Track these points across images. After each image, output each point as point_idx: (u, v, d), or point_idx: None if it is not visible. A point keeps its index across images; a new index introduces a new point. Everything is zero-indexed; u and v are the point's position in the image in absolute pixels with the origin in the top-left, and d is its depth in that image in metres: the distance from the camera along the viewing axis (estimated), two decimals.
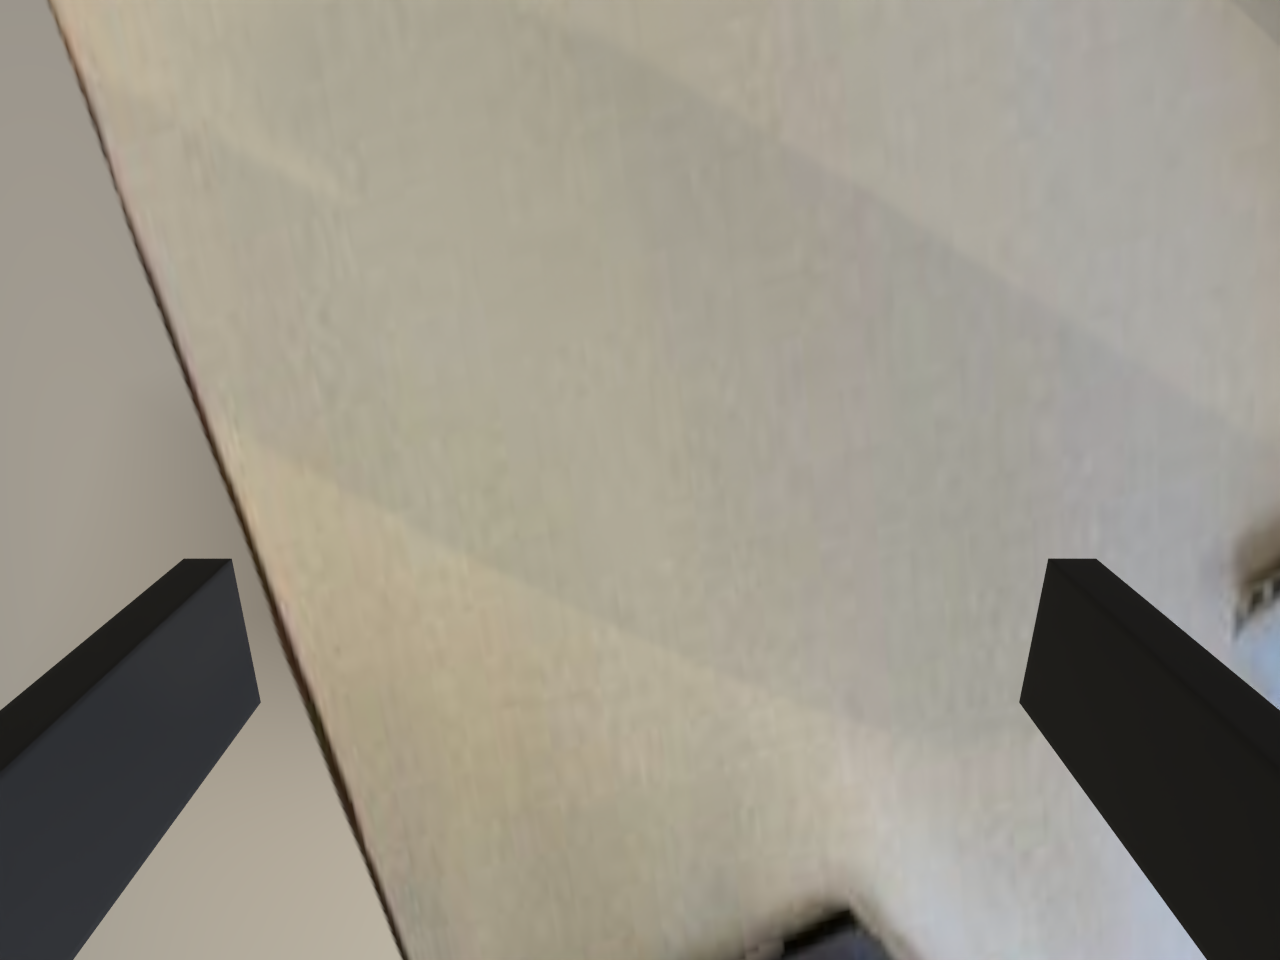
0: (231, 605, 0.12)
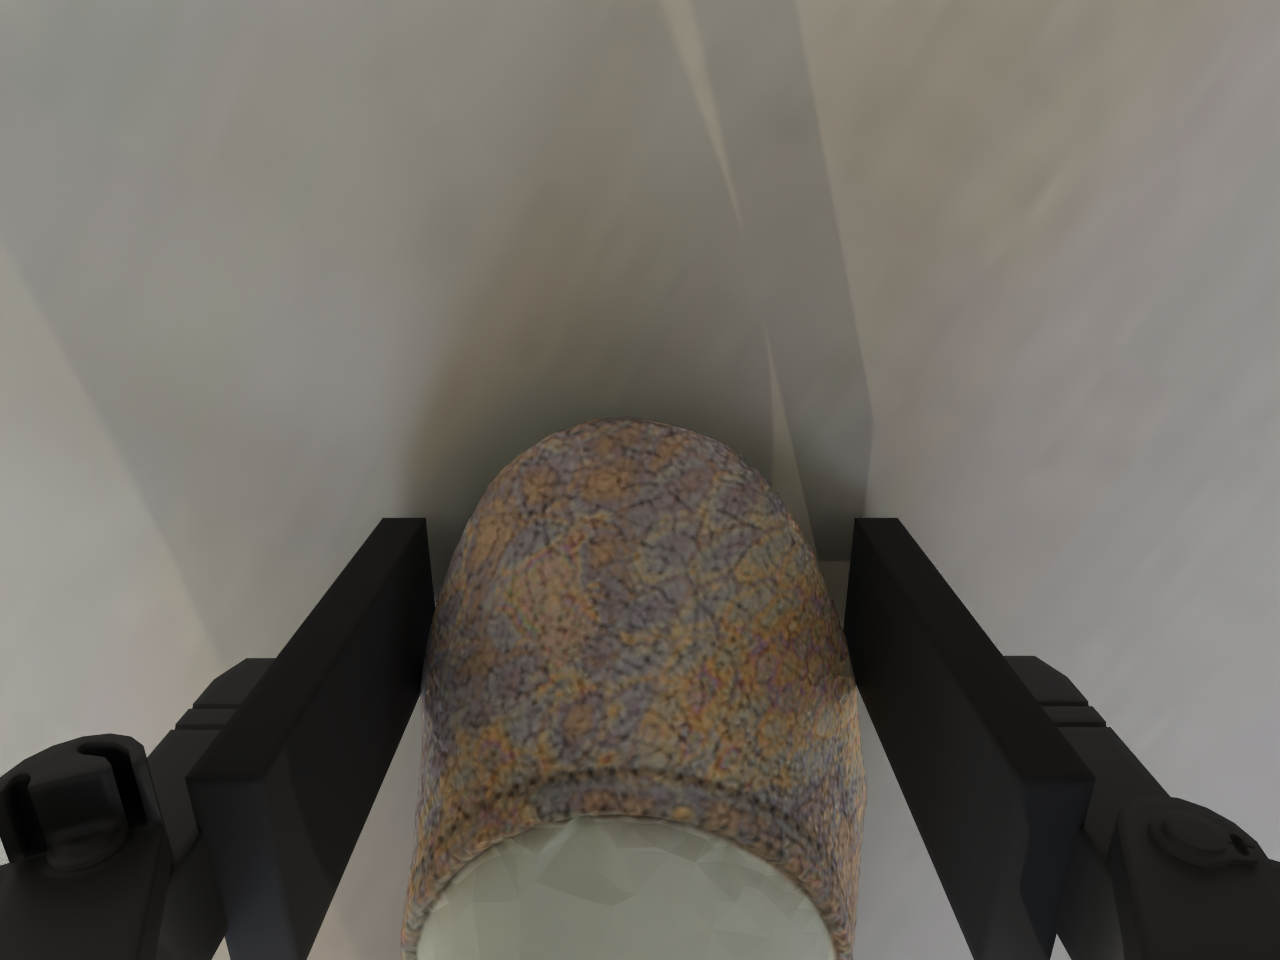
0: (425, 559, 0.14)
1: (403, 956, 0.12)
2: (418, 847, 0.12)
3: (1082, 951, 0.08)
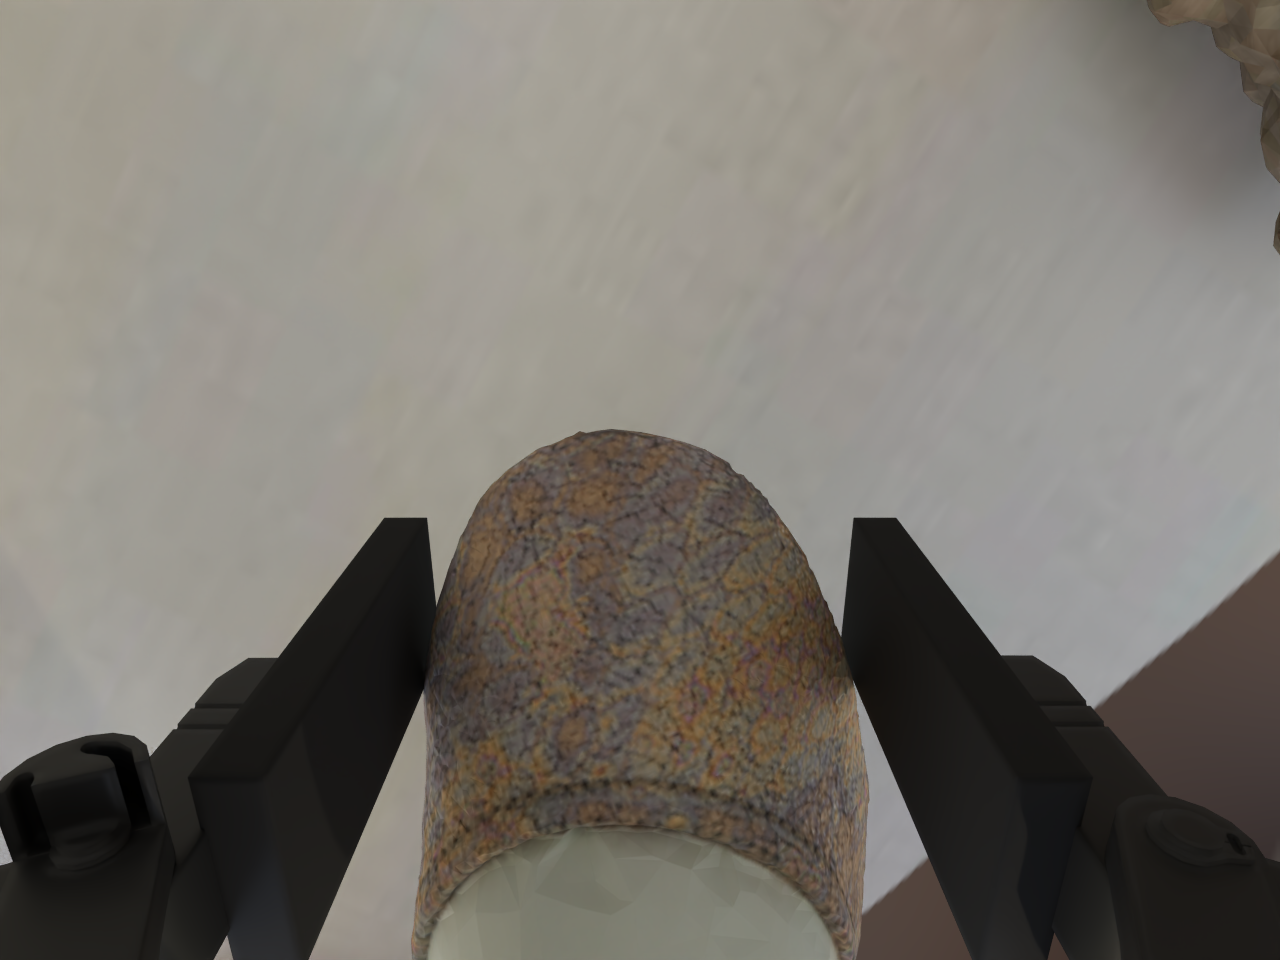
0: (426, 559, 0.14)
1: None
2: (424, 858, 0.12)
3: (1080, 950, 0.08)
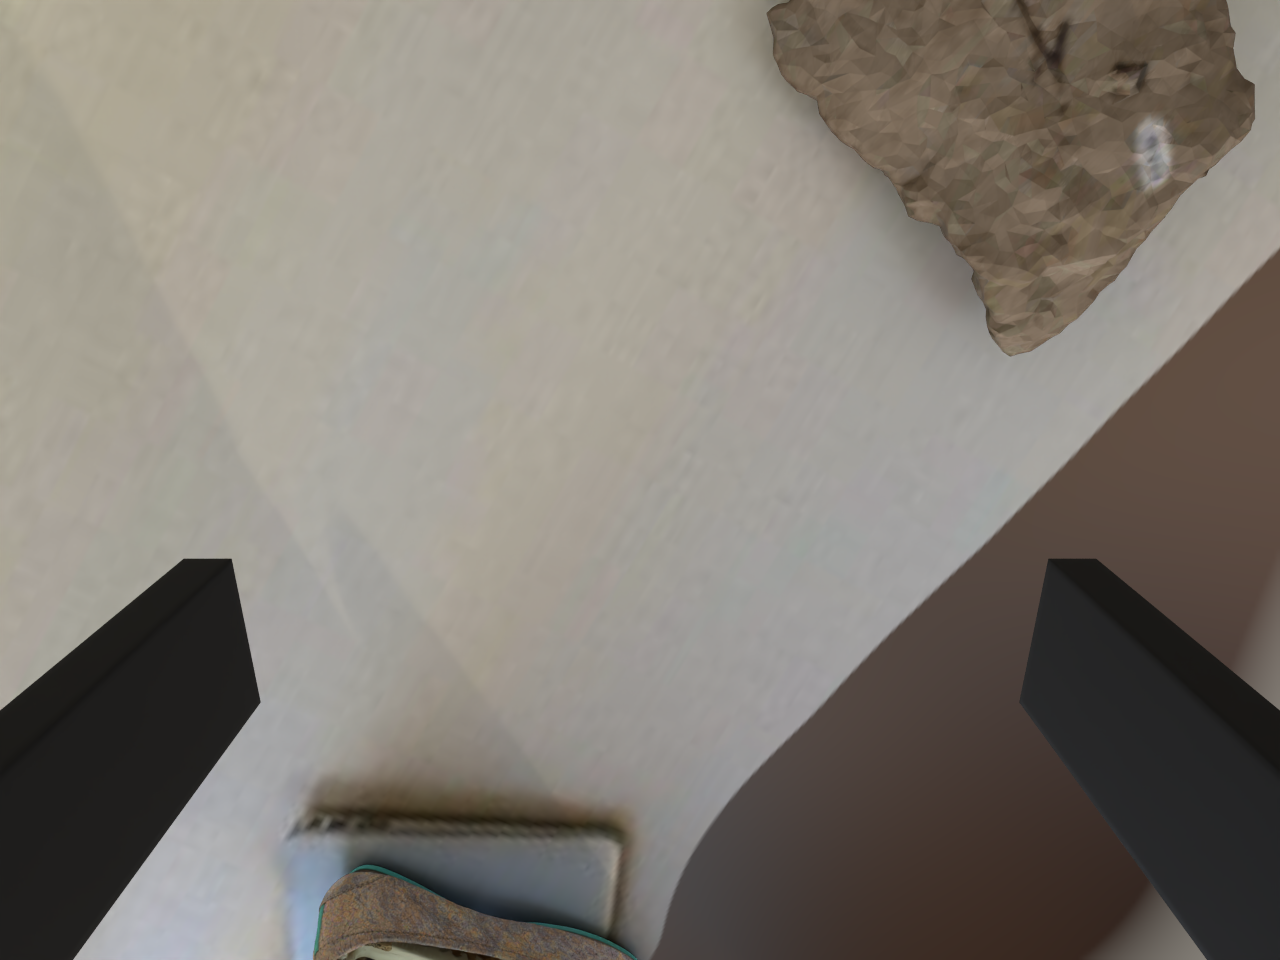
0: (230, 605, 0.12)
1: None
2: None
3: None
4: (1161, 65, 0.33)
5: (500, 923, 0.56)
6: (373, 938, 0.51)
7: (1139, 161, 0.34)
